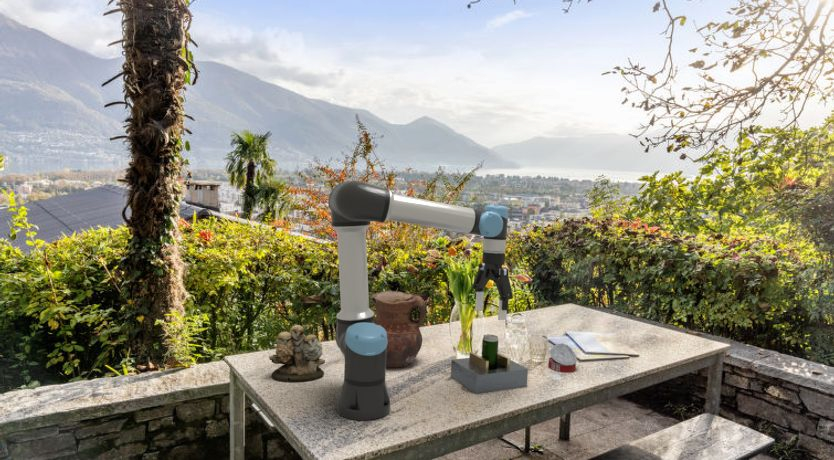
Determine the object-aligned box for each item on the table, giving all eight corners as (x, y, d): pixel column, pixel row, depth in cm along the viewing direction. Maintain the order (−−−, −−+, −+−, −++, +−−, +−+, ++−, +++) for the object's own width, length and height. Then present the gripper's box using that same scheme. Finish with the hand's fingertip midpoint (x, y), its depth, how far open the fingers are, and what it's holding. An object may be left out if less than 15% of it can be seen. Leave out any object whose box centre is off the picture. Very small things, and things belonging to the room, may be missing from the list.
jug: (369, 373, 170) (372, 301, 168) (356, 354, 190) (359, 290, 188) (429, 369, 177) (433, 300, 175) (411, 351, 197) (414, 289, 195)
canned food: (571, 379, 187) (586, 358, 185) (563, 383, 179) (579, 361, 177) (547, 359, 193) (561, 339, 191) (538, 362, 185) (553, 341, 183)
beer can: (488, 375, 163) (490, 339, 163) (477, 370, 168) (479, 335, 167) (500, 372, 166) (502, 337, 166) (489, 367, 171) (491, 333, 170)
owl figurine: (269, 384, 155) (270, 331, 155) (267, 372, 167) (269, 322, 166) (326, 380, 161) (328, 328, 160) (321, 368, 172) (323, 320, 171)
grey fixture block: (475, 394, 156) (477, 365, 155) (448, 375, 171) (449, 349, 171) (534, 385, 166) (535, 359, 165) (503, 368, 181) (504, 344, 181)
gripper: (526, 256, 155) (522, 323, 156) (482, 248, 177) (479, 306, 178) (507, 256, 152) (502, 324, 153) (464, 247, 174) (461, 307, 175)
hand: (490, 315), depth 166 cm, fingers open, 13 cm apart
